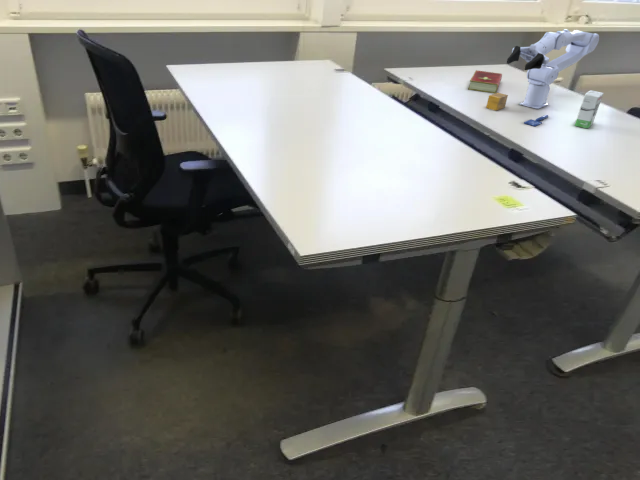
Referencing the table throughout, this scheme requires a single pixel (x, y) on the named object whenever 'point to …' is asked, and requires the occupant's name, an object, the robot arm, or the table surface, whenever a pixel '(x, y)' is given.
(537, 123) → the spatula
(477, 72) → the hardcover book
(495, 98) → the block
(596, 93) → the ink box
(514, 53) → the robot arm
